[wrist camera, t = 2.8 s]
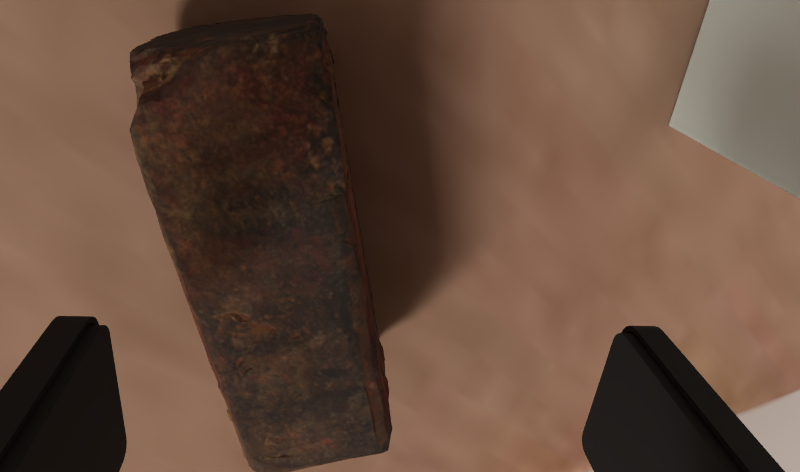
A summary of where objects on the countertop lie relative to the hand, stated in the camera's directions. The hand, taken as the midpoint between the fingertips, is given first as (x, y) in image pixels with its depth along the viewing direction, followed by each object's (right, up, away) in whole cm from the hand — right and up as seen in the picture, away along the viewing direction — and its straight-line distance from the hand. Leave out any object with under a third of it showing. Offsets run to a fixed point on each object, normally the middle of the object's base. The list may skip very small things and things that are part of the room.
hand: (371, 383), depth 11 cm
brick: (-3, +4, +6) cm, 7 cm away
